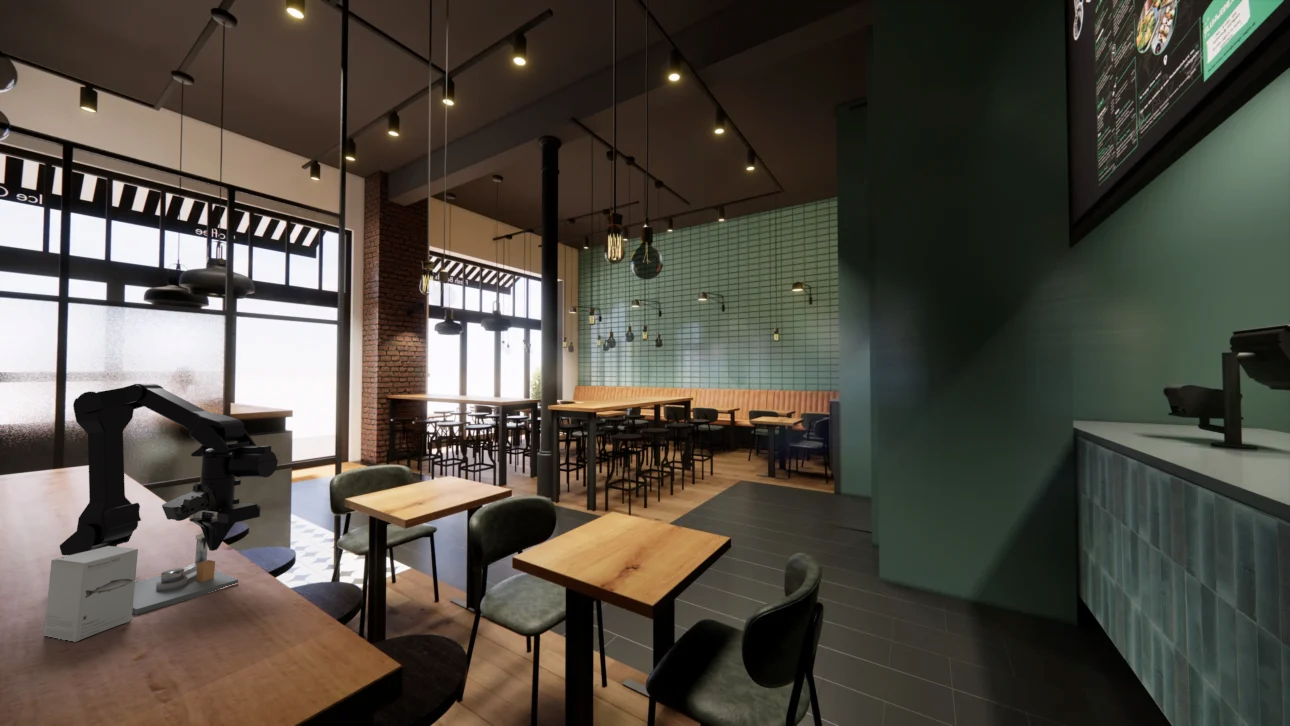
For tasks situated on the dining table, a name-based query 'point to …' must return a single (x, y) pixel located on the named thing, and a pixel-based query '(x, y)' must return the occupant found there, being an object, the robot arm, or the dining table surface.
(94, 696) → the dining table surface
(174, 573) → the crank
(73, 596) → the supplement box
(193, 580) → the crank bed
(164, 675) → the dining table surface
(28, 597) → the dining table surface
